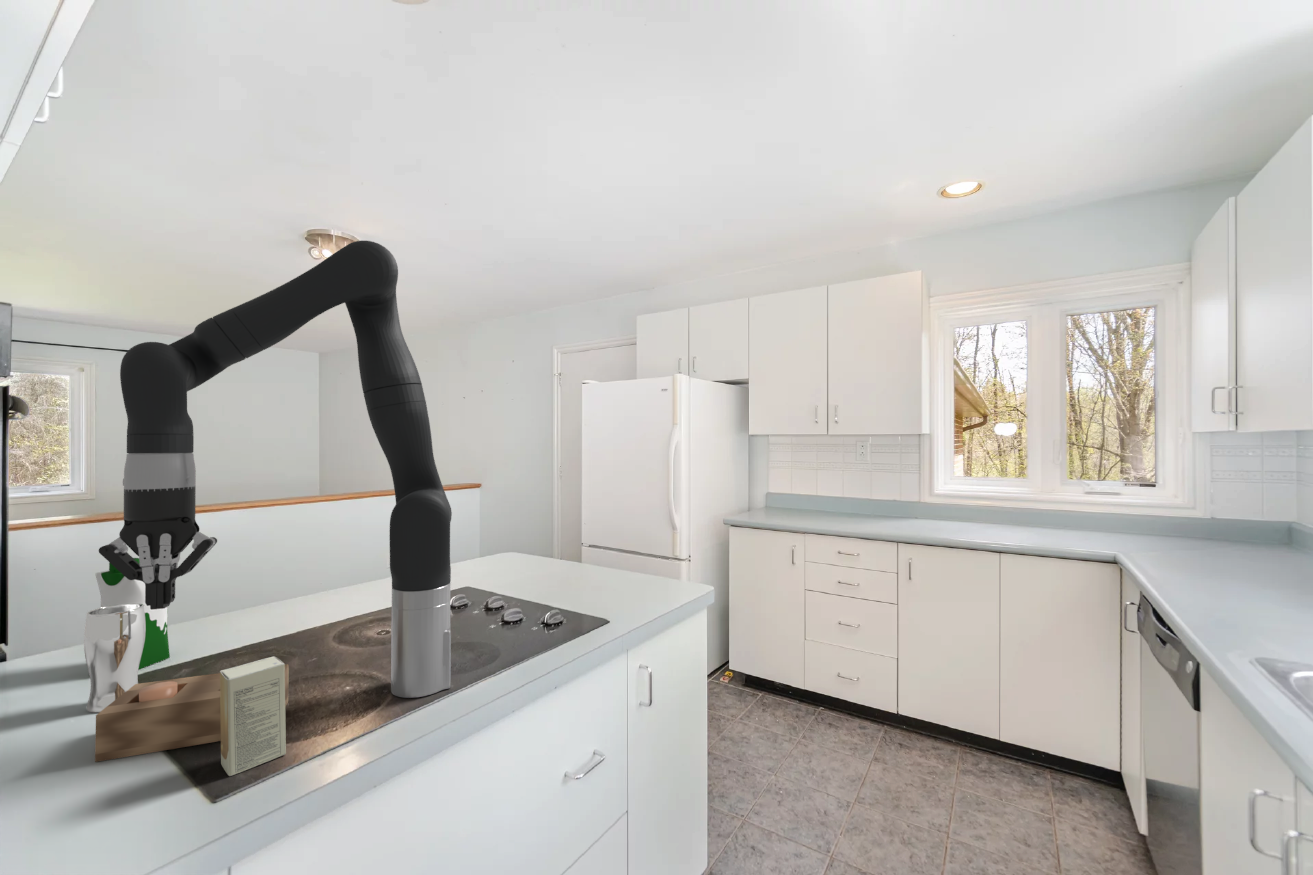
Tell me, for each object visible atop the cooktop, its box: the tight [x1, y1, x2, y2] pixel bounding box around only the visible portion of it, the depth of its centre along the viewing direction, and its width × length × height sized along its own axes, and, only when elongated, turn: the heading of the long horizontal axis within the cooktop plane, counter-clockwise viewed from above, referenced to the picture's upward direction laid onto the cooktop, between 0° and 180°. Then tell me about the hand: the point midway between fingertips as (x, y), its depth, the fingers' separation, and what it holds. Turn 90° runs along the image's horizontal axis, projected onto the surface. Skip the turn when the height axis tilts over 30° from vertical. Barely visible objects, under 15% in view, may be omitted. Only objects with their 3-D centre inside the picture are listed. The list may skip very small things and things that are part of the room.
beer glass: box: [83, 603, 146, 714], centre depth 86 cm, size 7×7×15 cm
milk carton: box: [95, 557, 171, 671], centre depth 102 cm, size 9×9×20 cm
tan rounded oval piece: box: [139, 681, 178, 702], centre depth 76 cm, size 4×4×5 cm
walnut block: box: [94, 664, 290, 763], centre depth 78 cm, size 19×10×6 cm, turn 112°
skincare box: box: [219, 656, 287, 777], centre depth 70 cm, size 6×4×12 cm
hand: (160, 607), depth 76 cm, fingers closed
